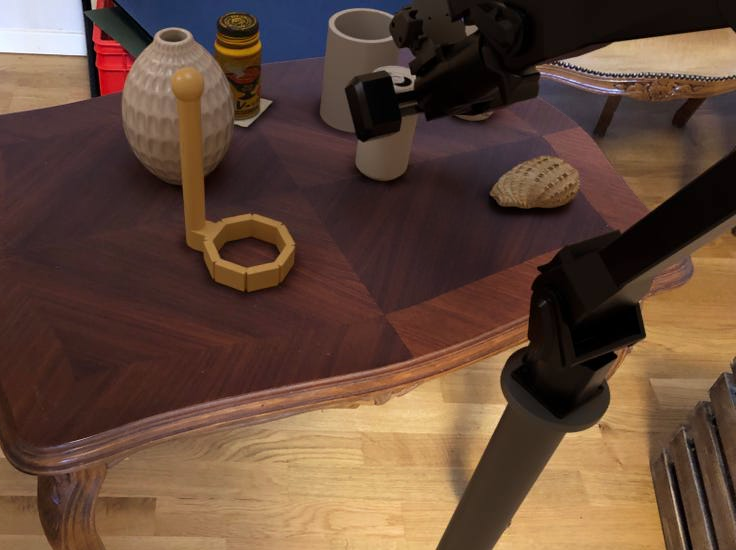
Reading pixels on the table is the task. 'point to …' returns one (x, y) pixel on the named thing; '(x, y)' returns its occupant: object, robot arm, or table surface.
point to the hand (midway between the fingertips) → (394, 116)
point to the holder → (214, 235)
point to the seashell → (537, 184)
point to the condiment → (241, 63)
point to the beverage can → (390, 137)
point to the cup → (353, 58)
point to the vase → (174, 105)
